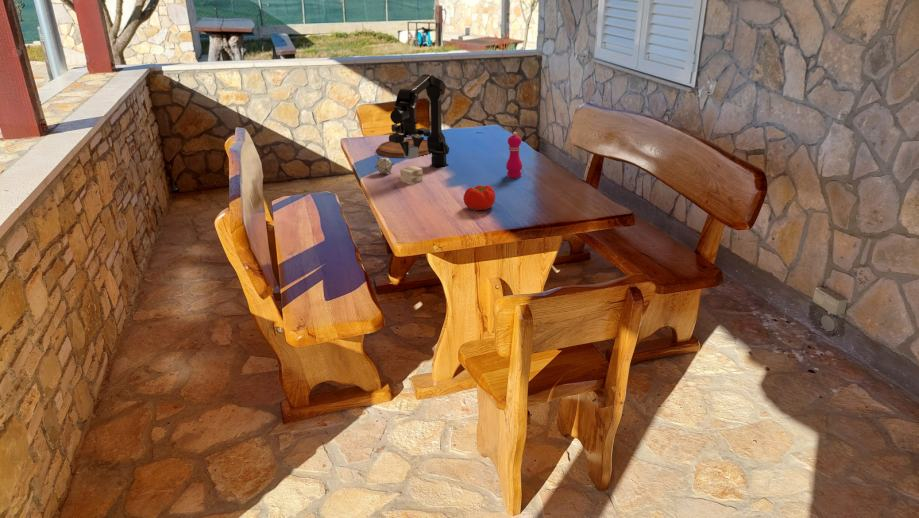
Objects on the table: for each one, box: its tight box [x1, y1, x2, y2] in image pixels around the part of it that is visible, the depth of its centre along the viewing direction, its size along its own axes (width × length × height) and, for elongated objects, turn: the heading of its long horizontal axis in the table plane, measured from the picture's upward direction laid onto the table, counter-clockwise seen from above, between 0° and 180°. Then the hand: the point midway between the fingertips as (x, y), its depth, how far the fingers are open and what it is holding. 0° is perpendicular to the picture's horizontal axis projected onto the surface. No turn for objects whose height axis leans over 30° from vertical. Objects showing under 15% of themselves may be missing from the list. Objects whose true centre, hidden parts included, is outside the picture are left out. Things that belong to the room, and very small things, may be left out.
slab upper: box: [399, 165, 424, 179], centre depth 278 cm, size 7×7×3 cm
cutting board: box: [376, 138, 432, 159], centre depth 329 cm, size 32×32×2 cm
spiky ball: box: [374, 156, 395, 176], centre depth 290 cm, size 9×8×10 cm
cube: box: [404, 145, 419, 160], centre depth 274 cm, size 4×4×4 cm
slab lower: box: [399, 175, 424, 186], centre depth 280 cm, size 7×7×3 cm
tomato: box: [463, 184, 496, 211], centre depth 245 cm, size 13×12×8 cm
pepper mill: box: [505, 131, 523, 179], centre depth 279 cm, size 7×7×20 cm
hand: (411, 154), depth 275 cm, fingers closed on cube, 4 cm apart
